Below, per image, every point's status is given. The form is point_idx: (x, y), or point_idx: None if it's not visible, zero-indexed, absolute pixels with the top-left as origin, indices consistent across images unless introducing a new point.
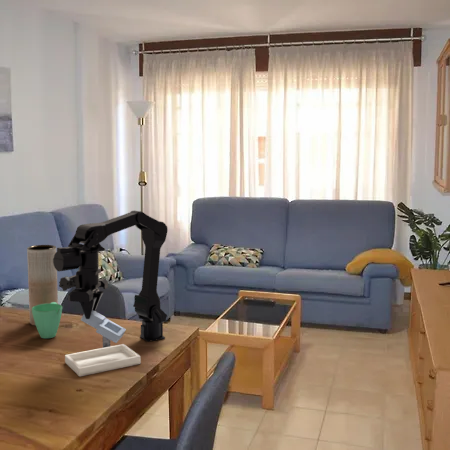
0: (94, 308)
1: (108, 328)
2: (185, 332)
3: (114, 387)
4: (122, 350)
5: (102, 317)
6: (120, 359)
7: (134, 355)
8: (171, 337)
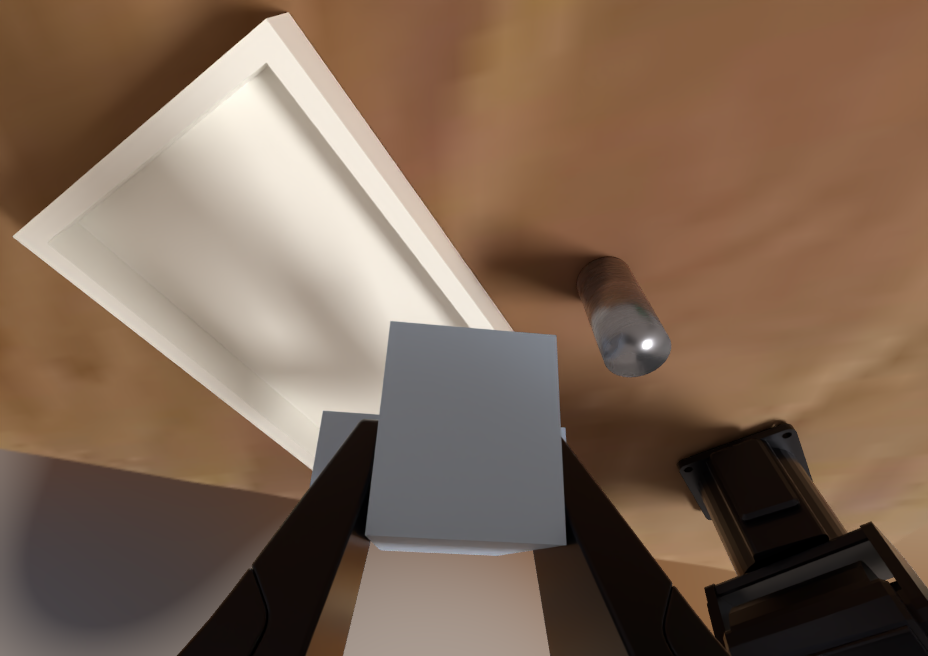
0: (542, 590)
1: None
2: None
3: (21, 407)
4: None
5: (442, 552)
6: (276, 429)
7: None
8: None
